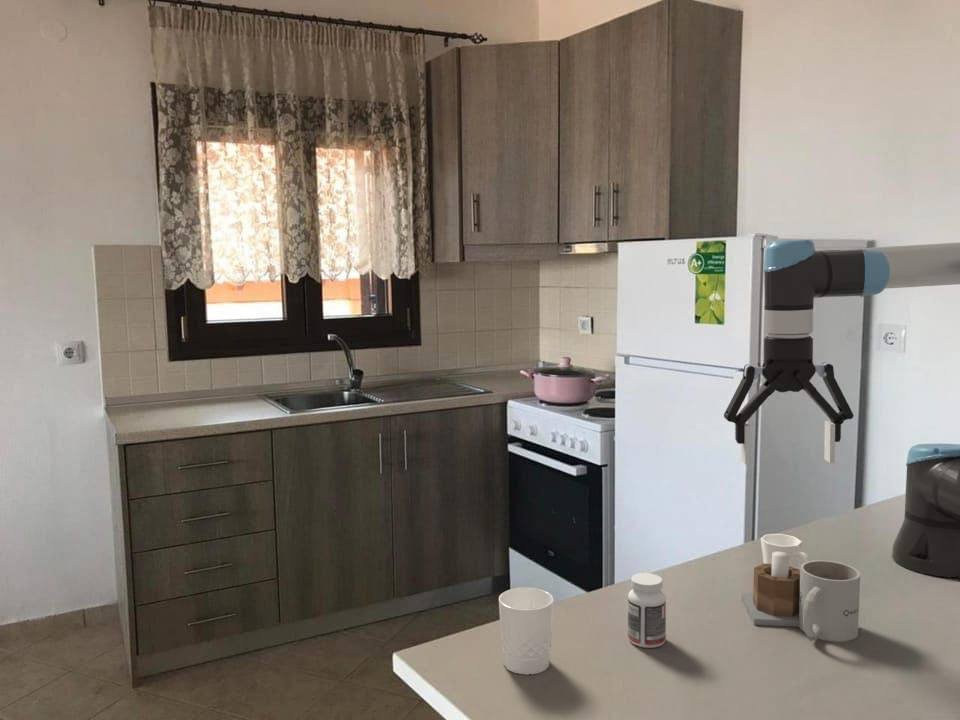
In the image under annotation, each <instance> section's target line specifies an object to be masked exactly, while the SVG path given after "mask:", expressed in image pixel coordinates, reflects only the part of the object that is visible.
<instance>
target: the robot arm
mask: <svg viewBox="0 0 960 720" xmlns="http://www.w3.org/2000/svg"><path fill="white" fill-rule="evenodd" d="M763 262H764V264H763V279H764V283H763V284H764V285H763V286H764V307H763V309H764V314H763V315H764V319H763V321H764V324H763V328H764V329H763V331H764V332H763V333H765V334H767V336H765V337H764V338H763V365H761V366H755V365H751V364H748V363H747V364H745V365H744V366H743V374H742V378H741V380H740V383H739V384H738V386H737V388H736V390H735V392H734V394H733V396H732V398H731V400H730V402H729V403H728V405H727V408H726V409H725V411H724V414H723V418H724V419H725V420H726V421H727V422H731V423H734V427H735V428H734V430H735V432H734V433H735V434H734V435H735V436H734V437H735V438H734V440H735V442H736V443H737V444H738V445H740V447H741V449H740V451H741V458H740V459H741V462H742V463H743V464H744V465H750V464H751V425H749V424H748V423H747V422H748V421H749V419H751V417H752V416H753V415H754V414H755V413H756V412H757V410H758V409H759V408H760V407H761V406H762V404H764V402H765V401H766V400H767V399H768V398H769V397H770V396H772V395H773V393H774V392H775V391H776V392H779V393H787V392H793V393H799V392H800V391H802V390H803V391H804V392H805V393H806V394H807V395H808V397H810V399H812V400H813V402H814V403H815V404H816V405H817V406H818V407H819V408H820V409H821V411H822V412H823V413H824V414H825V415H826V417H828V419H830V420H824V447H823V448H824V449H823V450H824V451H823V452H824V453H823V454H824V455H823V457H824V458H823V459H824V460H825V461H826V462H827V463H830V464H835V456H836V454H835V453H836V448H835V447H836V443H839V442H840V441H841V438H842V435H841V433H842V424H844V422H845V421H847V420H852V419H854V416H855V415H854V413H853V411H852V409H851V407H850V405H849V403H848V401H847V399H846V398H845V396H844V393H843V392H842V389H841V388H840V386H839V383H838V381H837V379H836V377H835V371H834V365H833V364H831V363H828V362H826V361H825V362H821V364H814V363H813V360H814V338H813V337H812V336H811V335H810V334H812V333H814V303H815V302H814V300H815V298H817V299H818V298H836V297H838V298H839V297H842V298H844V297H862V298H864V297H865V296H874V295H878V294H879V295H880V293H882V292H883V291H884V290H885V289H886V290H887V289H901V288H919V287H920V288H921V287H922V288H923V287H933V286H934V287H936V286H953V285H960V242H943V243H930V244H927V243H926V244H910V245H896V246H895V245H894V246H879V247H876V246H875V247H862V248H843V249H842V248H841V249H827V250H826V249H825V250H816V248H815V243H814V241H813V240H811V239H793V240H777V241H776V240H774V241H770V242H768V243H767V245H766V246H765V251H764V261H763ZM816 373H817V375H818V377H821V378H822V380H823V383H824V384H825V386H826V388H827V390H828V392H829V394H830V396H831V398H832V400H833V401H834V404H835V405H836V407H837V409H838V412H837V411H836V410H835V409H834V407H832V405H831V404H830V403H829V402H828V401H827V400H826V398H825V397H823V396H822V394H821V393H820V392H819V391H818V390H817V388H816V387H815V385H814V384H812V383H813V382H812V383H811V380H812V378H813V376H814V375H815V374H816ZM759 375H762V377H763V378H764V379H765V381H764V382H763V383H762V384H761V385H760V387H759V389H758V390H757V392H755V393H754V394H753V396H752V397H751V398H750V400H748V401H747V403H746V404H745V405H744V406H743V408H741V407H742V405H743V403H744V401H745V398H746V397H747V394H748V393H749V391H750V389H751V387H752V386H753V382H754V380H756V379H758V377H759ZM740 409H741V410H740ZM907 452H908V453H907V459H906V463H905V466H906V479H905V500H904V501H905V502H904V519H903V522H902V524H901V527H900V528H899V531H898V533H897V535H896V537H895V539H894V542H893V545H892V553H891V554H892V556H891V557H892V559H893V560H894V562H895V563H897V564H898V565H899V566H902V567H903V568H906V569H908V570H910V571H915V572H917V573H922V574H925V575H929V574H930V575H931V576H934V575H935V577H941V576H943V578H952V577H960V444H959V443H921V444H920V443H919V444H915V445H912V446H911V447H910V448H909V450H908V451H907ZM930 575H929V576H930Z"/></svg>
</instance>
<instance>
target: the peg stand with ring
mask: <svg viewBox="0 0 960 720" xmlns="http://www.w3.org/2000/svg"><path fill="white" fill-rule="evenodd" d="M788 571H789V554H787V553H785V552H773V553H772V573H771V576H774V577H784V578H788ZM741 601H742V603H743V605H744V607H745V609H746V611H747V613H748V616H749V618H750V620H751V622H752V624H753V625H754V626H771V627H772V626H777V627H799V614H797V615H795V616H793V617H787V616H772V615H769V614H767V613H764V612H761V611H759V610H757V609H756V607H755V605H754V603H753V593H746V592H745V593H742V592H741ZM799 628H800V627H799Z"/></svg>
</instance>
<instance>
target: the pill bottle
mask: <svg viewBox="0 0 960 720" xmlns="http://www.w3.org/2000/svg"><path fill="white" fill-rule="evenodd" d="M630 585H631V588H632V589H631V590H630V591H629V592H628V596H627V637H628V640H629V642H630V643H631V644H633V645H634V646H637V647H640V648H645V649H653V648H654V649H655V648H658V647H661V646H663V645H664V643H665V642H666V637H667V635H666V632H667V631H666V630H667V629H666V625H667V623H666V621H667V618H666V617H667V615H666V614H667V609H666V607H667V600H666V598H667V597H666V595H665V593H664V592H663V591H662V589H663V587H664V586H663V579H662V577H661V576H659V575H657V574H654V573H650V572H641V573H635V574H633V575H632V576H631V580H630Z"/></svg>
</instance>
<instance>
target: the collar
mask: <svg viewBox="0 0 960 720" xmlns="http://www.w3.org/2000/svg"><path fill="white" fill-rule="evenodd" d="M771 573H772V564H764V563H762V564H760V565H758V566H756V567H753V591H752V594H753V603H754V605H755V607H756V609H757V610H759V611H761V612H764V613H767V614H769V615H772V616H787V617H793V616H795V615H797V614H799V598H800V569H799V568H797V569H796V568H793V567H790V566H789V571H788V578H784V577H774V576H771Z"/></svg>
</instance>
